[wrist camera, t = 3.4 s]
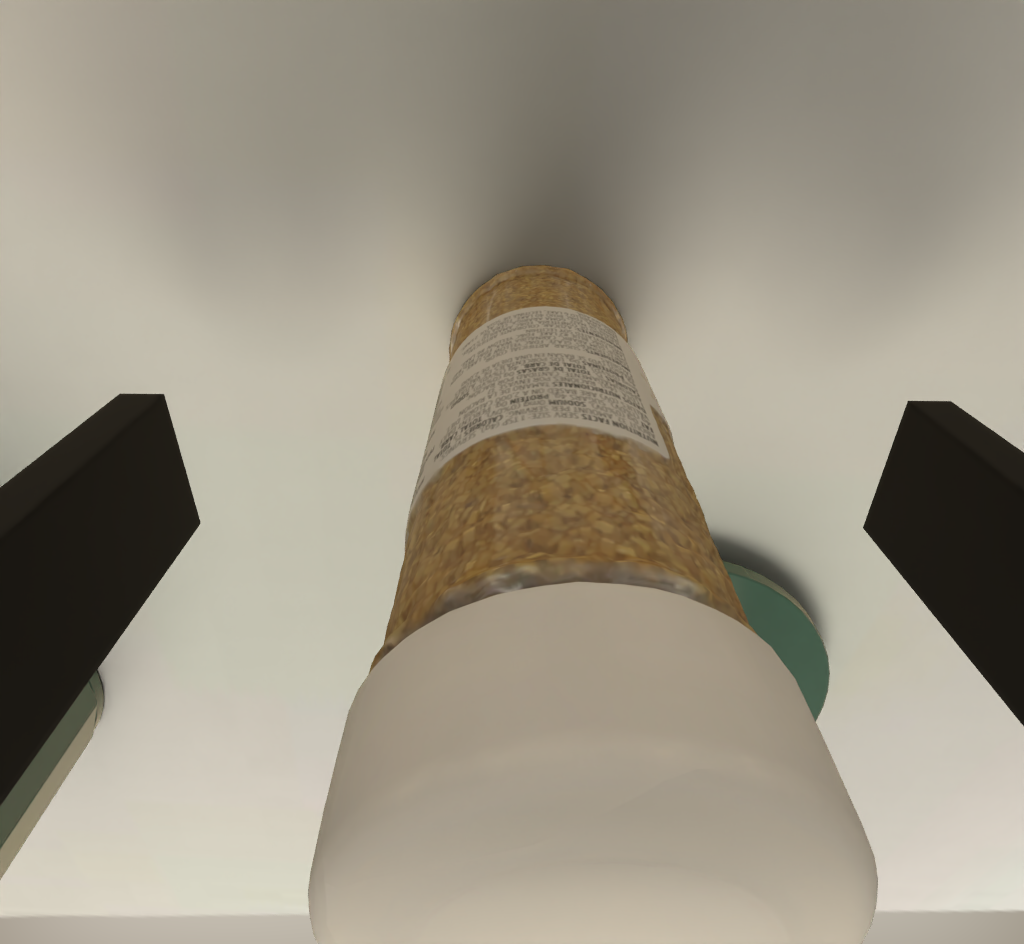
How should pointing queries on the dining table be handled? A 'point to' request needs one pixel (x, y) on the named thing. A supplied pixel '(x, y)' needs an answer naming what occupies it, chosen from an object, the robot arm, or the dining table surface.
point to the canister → (48, 771)
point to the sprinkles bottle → (575, 682)
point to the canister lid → (784, 631)
